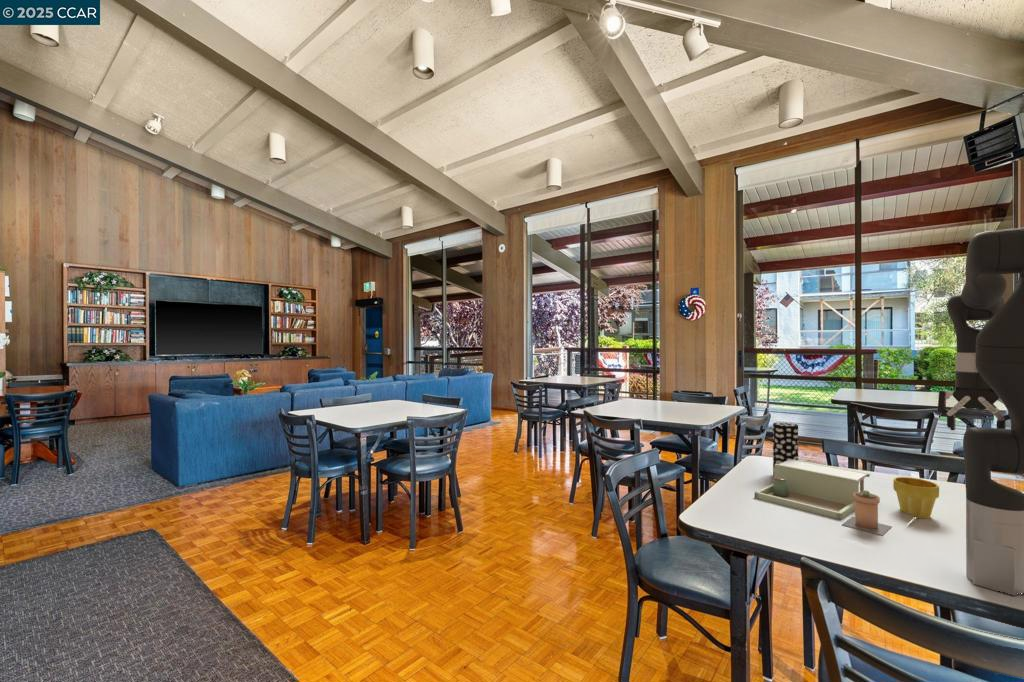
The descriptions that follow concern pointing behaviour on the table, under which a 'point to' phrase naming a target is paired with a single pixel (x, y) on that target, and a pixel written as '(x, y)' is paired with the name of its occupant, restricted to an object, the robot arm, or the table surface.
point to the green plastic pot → (780, 487)
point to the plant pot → (916, 495)
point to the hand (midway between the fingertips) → (975, 432)
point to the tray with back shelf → (816, 488)
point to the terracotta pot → (866, 509)
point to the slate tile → (879, 531)
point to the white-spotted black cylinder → (784, 442)
